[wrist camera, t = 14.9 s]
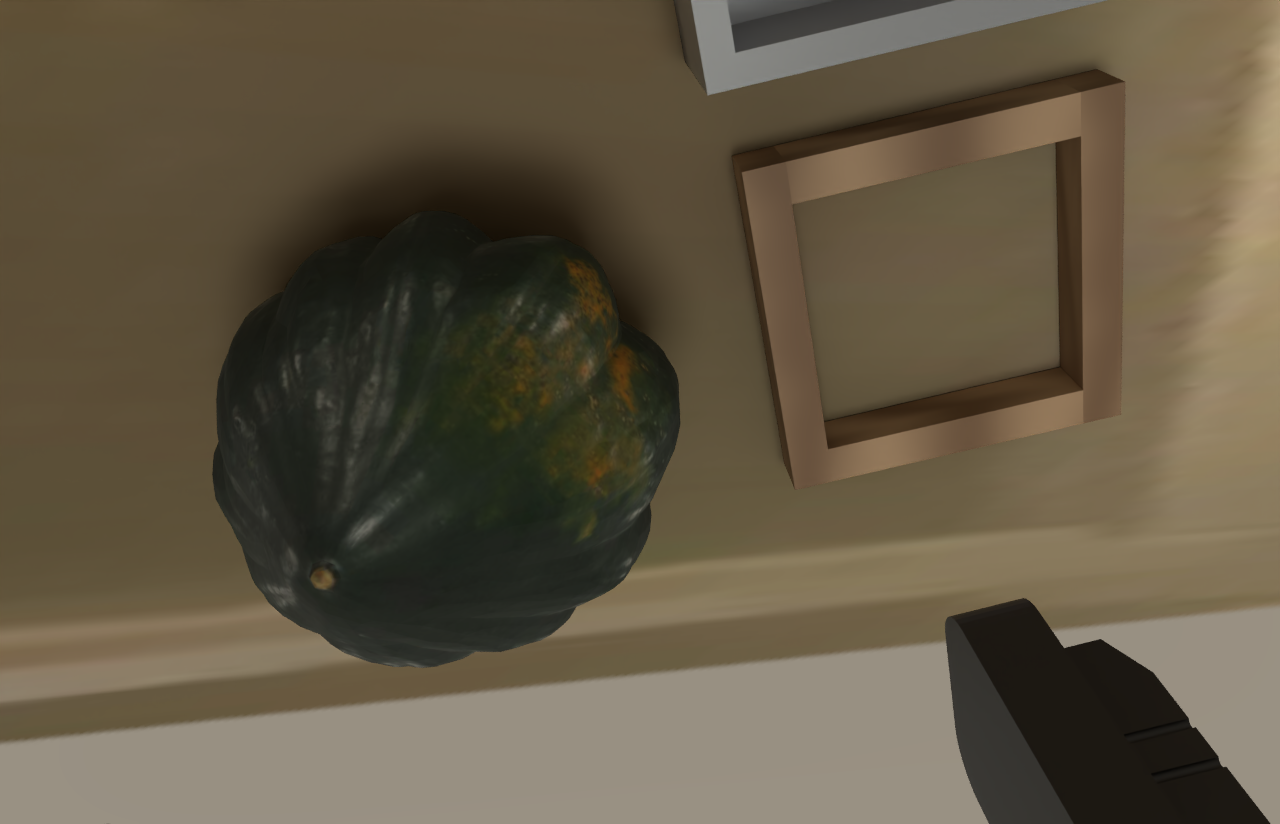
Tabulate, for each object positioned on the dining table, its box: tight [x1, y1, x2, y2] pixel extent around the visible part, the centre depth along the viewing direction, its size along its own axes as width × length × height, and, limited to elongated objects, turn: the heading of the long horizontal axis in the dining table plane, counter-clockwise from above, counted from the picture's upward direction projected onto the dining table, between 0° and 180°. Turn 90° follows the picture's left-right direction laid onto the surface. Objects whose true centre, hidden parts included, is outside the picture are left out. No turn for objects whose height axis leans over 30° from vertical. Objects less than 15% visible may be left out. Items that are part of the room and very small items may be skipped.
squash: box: [212, 211, 680, 668], centre depth 35 cm, size 14×15×15 cm
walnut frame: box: [732, 70, 1125, 490], centre depth 40 cm, size 13×13×2 cm
